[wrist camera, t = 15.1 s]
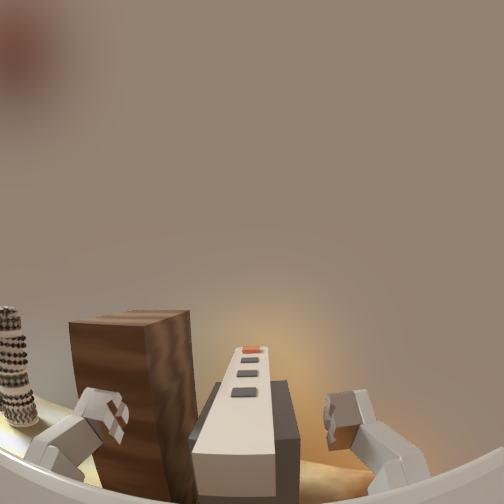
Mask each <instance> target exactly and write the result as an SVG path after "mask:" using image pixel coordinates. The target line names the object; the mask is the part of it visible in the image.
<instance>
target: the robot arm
mask: <svg viewBox="0 0 504 504" xmlns="http://www.w3.org/2000/svg"><path fill="white" fill-rule="evenodd" d="M121 400H122V397H121V395H120V393H118V392H112V391H106V390H100V389H95V388H89V387H87V388H86V389H85V390H84V391H83V393H82V395H81V397H80V399H79V401H78V403H77V405H76V408H75V409H74V411H73V413H72V415H71V414H69V415H67V416H66V417H64V418H63V419H61V420H60V421H58V422H57V423H55V424H54V425H52V426H51V427H49V428H48V429H46V430H45V431H43V432H42V433H40V434H39V435H37V436H36V437H34V438H33V440H32V442H31V444H30V446H29V448H28V450H27V452H26V454H25V456H24V458H23V459H22V458H20V457H18V456H16V455H14V454H12V453H10V452H8V451H6V450H4V449H2V448H0V504H176V503H169V502H162V501H156V500H151V499H145V498H140V497H135V496H131V495H126V494H122V493H118V492H114V491H110V490H106V489H103V488H99V487H96V486H93V485H89V484H86V483H83V481H84V478H85V476H84V474H83V473H82V472H81V471H80V470H79V469H78V468H77V467H78V466H79V465H80V464H81V463H82V462H83V461H84V460H85V459H86V458H88V457H89V456H90V455H91V454H92V453H93V452H94V451H95V450H96V449H97V448H98V447H99V446H100V445H101V444H102V443H103V442H105V443H111V444H116V445H120V443H121V440H122V438H123V435H124V432H123V429H122V428H123V427H125V426H126V425H127V423H128V419H129V411H128V408H127V406H126V404H125V403H123V402H122V401H121ZM326 404H327V405H326V406H325V407H324V416H323V417H324V426H325V429H326V430H327V431H328V433H327V443H328V448H329V451H335V450H343V449H350V450H351V451H352V452H353V453H354V454H355V455H356V456H357V457H358V458H359V459H360V460H361V461H362V462H363V463H364V464H365V465H366V466H367V467H368V468H369V469H370V470H371V471H372V472H373V473H374V474H375V475H376V477H375V478H374V480H373V481H372V483H371V484H370V485H369V487H368V488H367V490H368V496H364V497H359V498H354V499H349V500H343V501H337V502H330V503H323V504H504V447H500V448H498V449H495V450H494V451H492V452H490V453H488V454H486V455H484V456H482V457H480V458H477V459H475V460H473V461H471V462H469V463H467V464H464V465H462V466H460V467H457V468H455V469H452V470H450V471H447V472H445V473H442V474H439V475H437V476H434V477H431V475H430V472H429V469H428V466H427V463H426V461H425V458H424V455H423V452H422V451H421V450H420V449H418V448H417V447H415V446H414V445H413V444H411V443H410V442H409V441H407V440H406V439H404V438H403V437H402V436H400V435H399V434H398V433H397V432H395V431H394V430H392V429H391V428H390V427H388V426H387V425H386V424H385V423H383V422H382V421H377V418H376V415H375V412H374V409H373V406H372V403H371V401H370V398H369V395H368V392H367V390H366V389H362V390H356V391H347V392H340V393H333V394H328V395H327V396H326Z"/></svg>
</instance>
